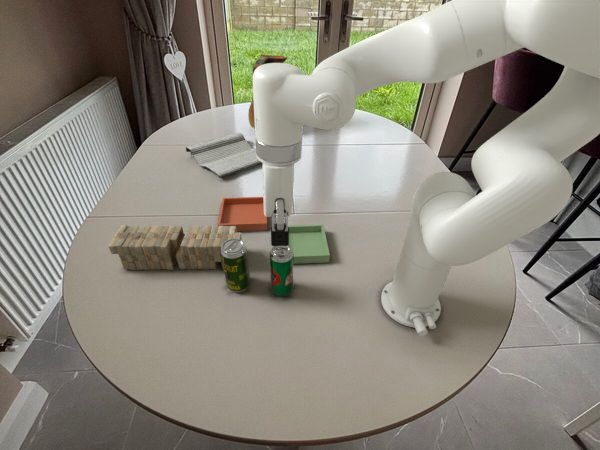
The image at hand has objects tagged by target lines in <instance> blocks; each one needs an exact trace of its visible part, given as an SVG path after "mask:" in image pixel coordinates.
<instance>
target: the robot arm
mask: <svg viewBox="0 0 600 450" xmlns="http://www.w3.org/2000/svg"><path fill="white" fill-rule="evenodd" d="M524 48H525V49H527V50H529V51H531V52H533V53H535V54H537V55H539V56H542V57H544V58H545V59H547V60H550V61H552V62H555V63H556V64H557V63H558V64H560V65H562V66H564V68H563V70H562V72H561V74H560V76H559V78H558V80H557V82H556V83H555V84H554V85H553V87H552V88H551V90H550V91H548V92H547V93H546V94H545V95H544V97H542V98H540V100H538V101H537V102H536V103H535V104H534V105H532V106H531V107H530V108H529V109H528V110H526V111H525V112H523V113H522V114H521V115H519V116H518V117H517V118H516V119H514V120H513V121H512V122H510V123H509V124H507V125H506V126H505V127H503V128H502V129H501V130H500V131H498V132H497V133H495V134H494V135H492V136H491V137H490V138H489V139H488V140H486V141H485V142H484V143H482V144H481V145H480V146H479V147H478V148H477V150H475V151H474V153H473V155H472V158H471V161H470V162H471V171H472V174H473V176H474V178H475V180H476V182H477V184H478V186H479V188H480V190H481V191H480V192H479V193H478V194H476V193H475V191H474V189H473V187H472V185H471V184H470V183H469V181H468V180H467V179H465V178H464V177H463V176H461V175H459V174H457V173H455V172H452V171H439V172H435V173H433V174H430V175H429V176H427V177H426V178H424V179H423V180H422V181H421V182H420V183H419V185H418V186H417V188H416V190H415V192H414V193H413V198H412V202H411V206H410V214H409V218H408V219H409V221H408V225H407V230H406V234H405V238H404V240H403V244H402V248H401V252H400V255H399V258H398V262H397V265H396V269H395V271H394V272H395V273H394V275H393V280H392V281H390V282H389V283H387V284H386V285H385V286H384V287H383V288H382V290H381V291H382V292H381V296H380V301H381V305H382V307H383V310H384V311H385V312H386V314H387V315H388V316H389V317H390V318H391V319H392V320H394V321H395V322H397V323H398V324H401V325H403V326H406V327H410V328H415V331H416V333H417V335H418V337H424V336H426V335H428V333H429V332H428V329H427V327H428V328H429V330H434V329H437V325H436V322H437V321H438V319H439V317H440V315H441V311H442V306H441V305H442V304H441V302H440V299H439V297H440V295H441V293H442V290H443V288H444V285H445V283H446V281H447V278H448V276H449V274H450V272H451V269H452V267H458V266H464V265H469V264H471V263H474V262H477V261H479V260H482V259H483V258H485V257H488V256H489V255H492V254H493V253H496V252H497V251H499V250H500V249H502V248H504V247H506V246H508V245H509V244H512V243H514V242H515V241H517V240H519V239H521V238H522V237H524V236H526V235H528V234H530V233H532V232H533V231H535V230H537V229H538V228H540V227H542V226H544V225H545V224H548V223H549V222H550V221H552V220H553V219H555V217H556V216H557V215H559V214H560V213H561V211H562V210H563V209H564V208H565V207H566V205H567V204H568V203H569V201H570V199H571V197H572V193H573V188H574V187H573V185H574V184H573V180H572V177H571V174H570V172H569V171H568V169H567V168H566V167H565V166H564V164H563V163H562V162H563V161H564V160H565V159H567V158H568V157H569V156H571V155H573V154H574V153H576V152H577V151H579V149H581V148H582V147H584V146H585V145H587V144H588V143H590V142H592V140H594V139H595V138H597V137H598V136H599V135H600V0H449V1H447V2H444V3H443V4H441V5H438V6H437V7H434V8H433V9H431V10H429V11H426V12H425V13H422V14H421V15H420V14H419V16H416V17H413V18H411V19H408V20H405V21H403V22H401V23H399V24H397V25H395V26H393V27H391V28H388V29H385V30H383V31H380V32H378V33H376V34H374V35H371V36H368V37H367V38H364V39H362V40H360V41H358V42H356V43H354V44H352V45H350V46H348V47H346V48H343V50H340V51H338V52H336V53H335V54H332V55H330V56H329V57H327V58H325V59H324V60H322V61H321V62H320V63H319V64H317V66H315V68H314V69H313V70H312V72H311V74H304V72H303V70H302V69H301V68H300V67H299V66H297V65H294V64H291V63H285V62H283V63H268V64H263V65H261V66H259V67H257V68H256V69H255V71H254V73H252V93H253V94H252V97H253V98H252V100H254V120H255V129H254V133H255V135H254V137H255V149H256V157H257V159H258V160H259V161H260V162H262V163H261V164H262V167H261V168H262V172H261V173H262V197H263V203H264V215H265V216H266V217H267V218H270V217H271V227H270V246H272V247H274V246H288V245H289V227H288V226H289V217H290V216H291V215H292V213H293V212H292V210H293V200H294V181H295V164H297V163H299V161H301V159H302V155H303V154H302V152H303V151H302V150H303V132H304V131H303V129H304V127H303V126H308V127H312V128H313V129H314V128H315V129H319V130H325V131H333V130H335V131H336V130H338V129H341V128H343V127H345V126H346V125H347V124H348V123H349V122H351V120H352V118H353V116H354V115H355V112H356V107H357V98H358V97H360V96H362V95H365V94H366V93H369V92H371V91H374V90H376V89H379V88H381V87H384V86H388V85H391V84H396V83H404V82H405V83H406V82H408V83H417V84H436V83H437V84H438V83H442V82H445V81H448V80H451V79H452V78H454V77H457V76H459V75H461V74H463V73H466V72H468V71H470V70H471V71H472V70H473V69H475V68H478V67H481V66H483V65H485V64H488V63H490V62H492V61H495V60H497V59H500V58H502V57H504V56H507V55H510V54H511V53H514V52H516V51H518V50H521V49H524Z"/></svg>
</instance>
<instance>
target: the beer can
mask: <svg viewBox="0 0 600 450" xmlns="http://www.w3.org/2000/svg"><path fill="white" fill-rule="evenodd" d="M221 257H222V262H223V268H224V269H223V273H224V280H225V284H226V288H227V289H228V290H229V291H231V292H233V293H242V292H244V291H246V290H247V289H248V288H249V286H250V284H251V278H250V277H251V276H250V269H249V260H248V259H249V258H248V250H247V246H246V243H245V241H243V240H242V239H241V240H240V239H236V238H235V239H229V240H226V241H225V242H224V243H223V244H222V245H221Z"/></svg>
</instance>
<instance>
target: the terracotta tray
mask: <svg viewBox="0 0 600 450" xmlns="http://www.w3.org/2000/svg"><path fill="white" fill-rule="evenodd" d="M219 211H220V212H219V216H218V222H217V226H236V231H237V232H256V231H257V232H258V231H259V232H260V231H261V232H262V231H263V232H264V231H268V217H266V216H265V215H264V203H263V196H246V197H245V196H241V197H240V196H237V197H222V200H221V205H220V210H219Z"/></svg>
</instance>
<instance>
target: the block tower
mask: <svg viewBox="0 0 600 450" xmlns="http://www.w3.org/2000/svg"><path fill="white" fill-rule="evenodd" d="M235 238H236V239H240V240H242V233H241V232H238V231H236V226H218V225H189V226H187V228H186V231H185V232H184V229H183V226H182V225H141V226H139V225H134V226H130V225H129V226H128V225H127V224H122V225H120V227H119V228H118V230H117V232H116V233H115V235H114V236H113V238H112V240H111V241H110V242H109V244H108V249H109V251H110V254H111V255H117V256H118V258H119V260H120V263H121V265H122V268H123V269H124V270H131V271H136V270H161V269H162V270H174V268H175V266H176V263H177V264H178V268H179V269H180V270H185V269H186V270H216V269H217V268H218V263H221V269H222V270H224V268H223V262H222V257H221V245H222V244H223V243H224V242H225V241H226V240H229V239H235Z"/></svg>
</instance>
